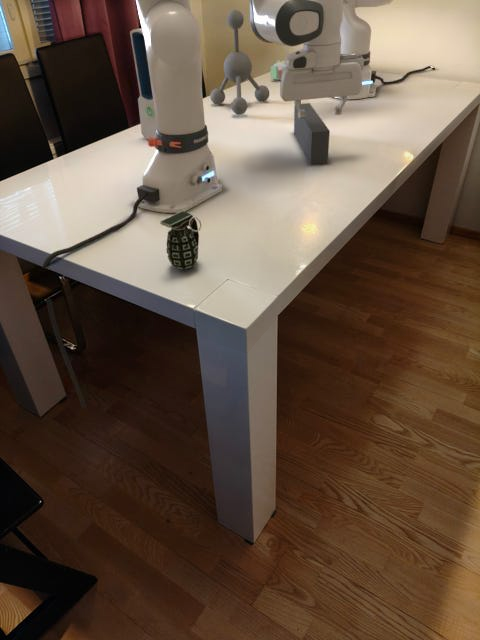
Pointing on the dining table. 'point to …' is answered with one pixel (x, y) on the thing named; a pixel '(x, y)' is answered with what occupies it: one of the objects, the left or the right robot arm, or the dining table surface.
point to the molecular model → (238, 71)
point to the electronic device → (144, 85)
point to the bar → (312, 135)
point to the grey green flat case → (277, 69)
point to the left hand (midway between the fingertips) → (319, 116)
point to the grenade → (182, 240)
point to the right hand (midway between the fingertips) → (329, 4)
